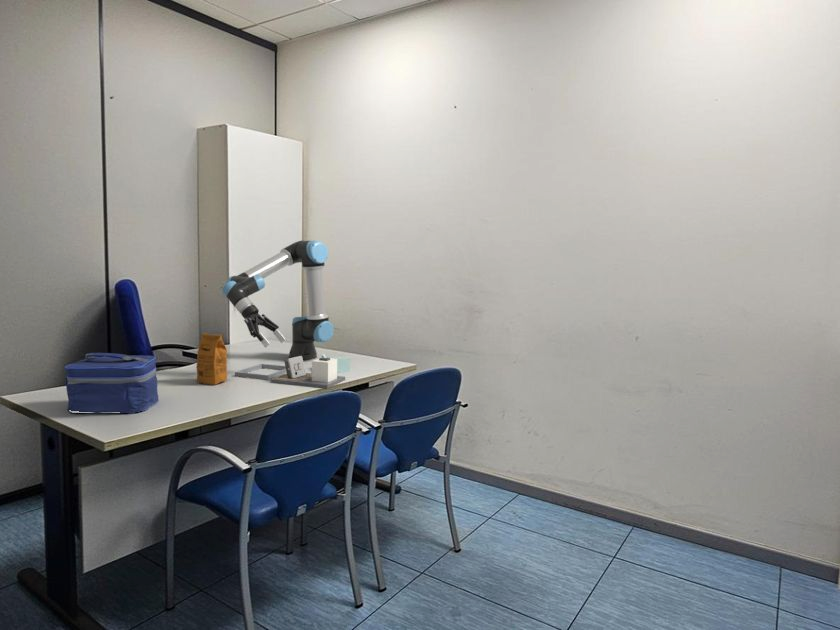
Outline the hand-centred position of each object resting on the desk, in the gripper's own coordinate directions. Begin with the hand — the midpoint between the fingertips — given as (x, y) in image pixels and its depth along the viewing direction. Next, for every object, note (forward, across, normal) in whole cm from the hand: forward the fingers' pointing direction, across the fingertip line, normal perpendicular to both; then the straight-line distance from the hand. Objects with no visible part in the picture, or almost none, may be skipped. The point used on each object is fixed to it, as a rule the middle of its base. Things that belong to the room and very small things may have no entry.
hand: (275, 343), depth 261 cm
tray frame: (+5, -6, -18) cm, 20 cm away
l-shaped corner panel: (+24, -26, +1) cm, 36 cm away
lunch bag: (-8, +65, -32) cm, 73 cm away
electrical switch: (+18, 0, -4) cm, 18 cm away
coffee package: (-3, +19, -26) cm, 33 cm away
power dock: (+24, 0, +1) cm, 24 cm away
